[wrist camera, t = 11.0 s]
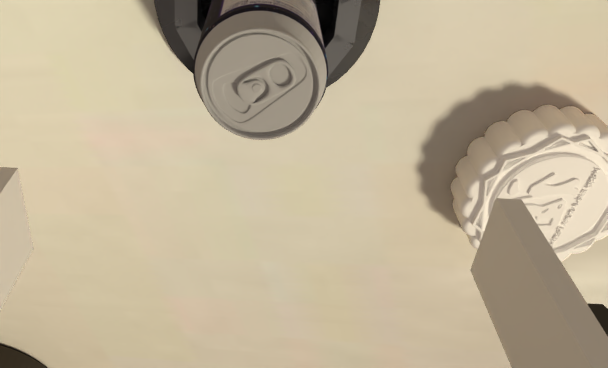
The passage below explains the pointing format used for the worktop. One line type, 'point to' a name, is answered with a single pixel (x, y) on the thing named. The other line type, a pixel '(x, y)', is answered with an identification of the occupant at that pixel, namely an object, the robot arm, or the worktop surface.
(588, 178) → the mooncake
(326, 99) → the worktop surface
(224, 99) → the beverage can
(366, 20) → the ring collar
